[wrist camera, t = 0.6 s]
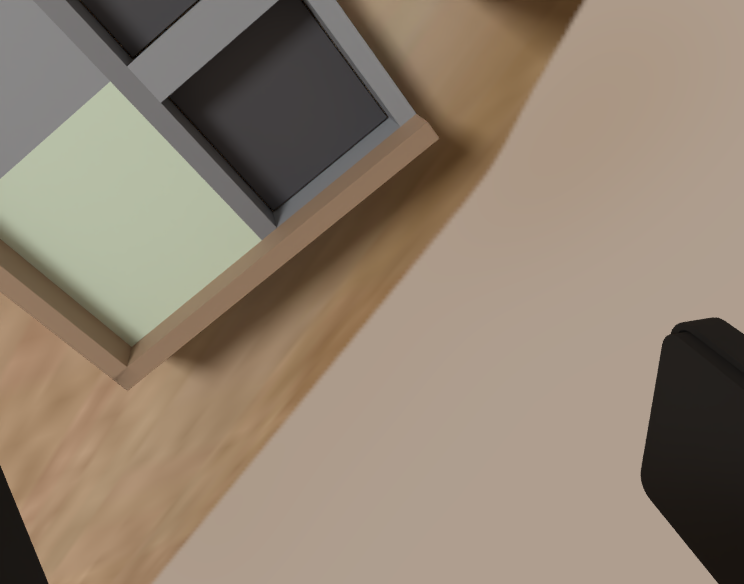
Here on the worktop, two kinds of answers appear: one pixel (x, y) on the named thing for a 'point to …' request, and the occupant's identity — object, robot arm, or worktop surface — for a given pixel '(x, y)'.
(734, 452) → the robot arm
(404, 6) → the worktop surface
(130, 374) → the trap deck
